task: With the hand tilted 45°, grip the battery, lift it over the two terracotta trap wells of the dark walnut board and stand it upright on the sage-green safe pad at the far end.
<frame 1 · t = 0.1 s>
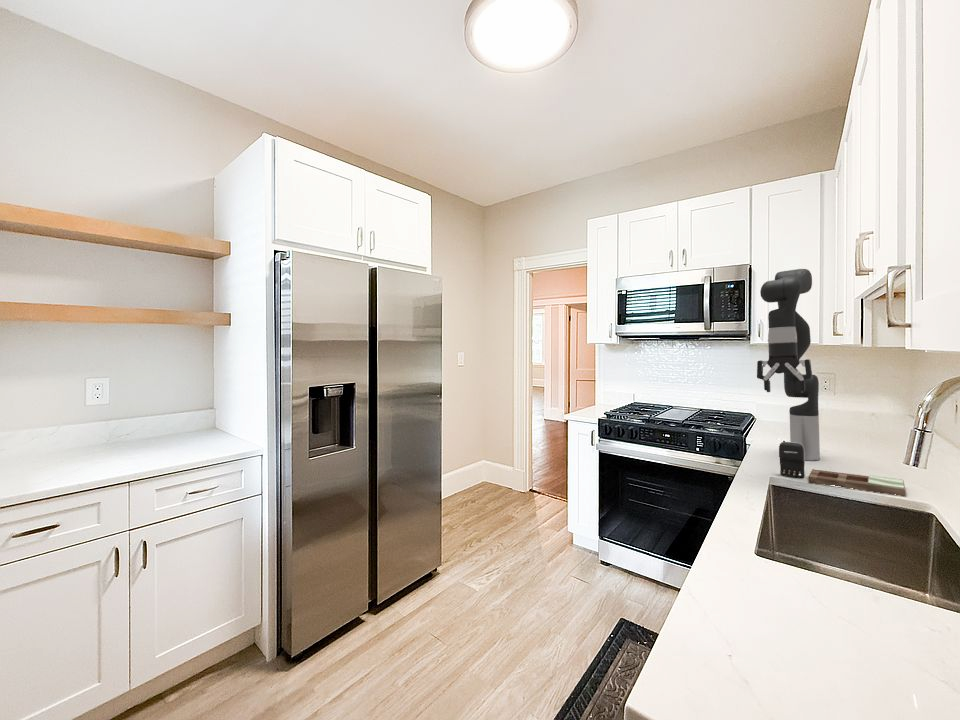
hand: (784, 392, 136), 29 cm above the countertop, tool pointing down, fingers open, 8 cm apart
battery: (792, 477, 144), on the countertop
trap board: (854, 484, 133), on the countertop
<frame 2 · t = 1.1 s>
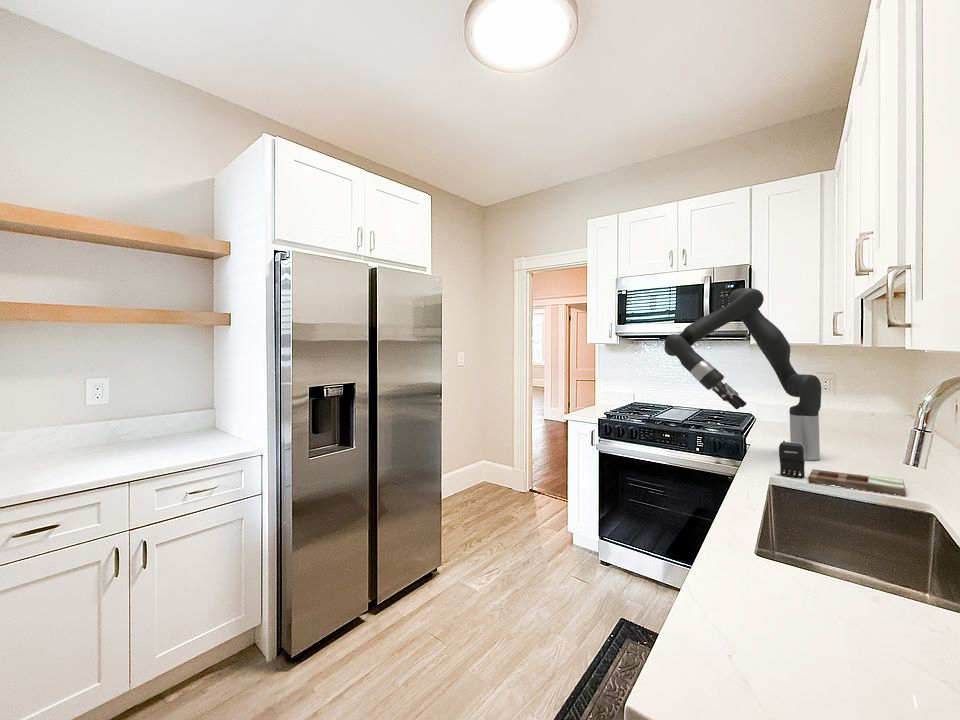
hand: (742, 406, 154), 23 cm above the countertop, tool tilted 45°, fingers open, 8 cm apart
nothing on the countertop moved.
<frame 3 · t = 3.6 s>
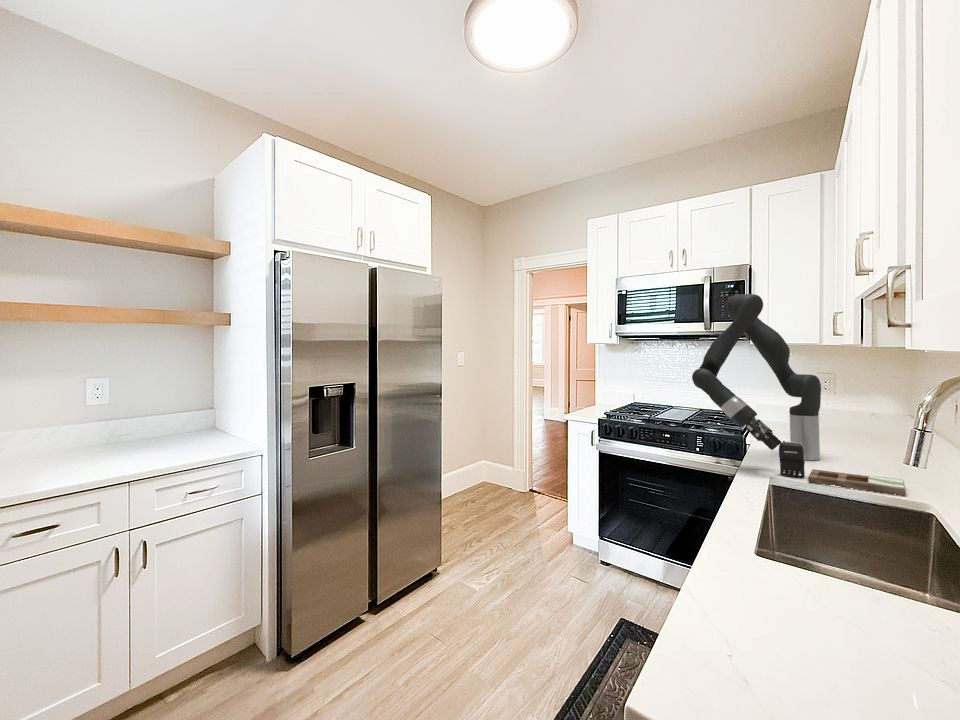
hand: (777, 446, 147), 10 cm above the countertop, tool tilted 45°, fingers open, 8 cm apart
nothing on the countertop moved.
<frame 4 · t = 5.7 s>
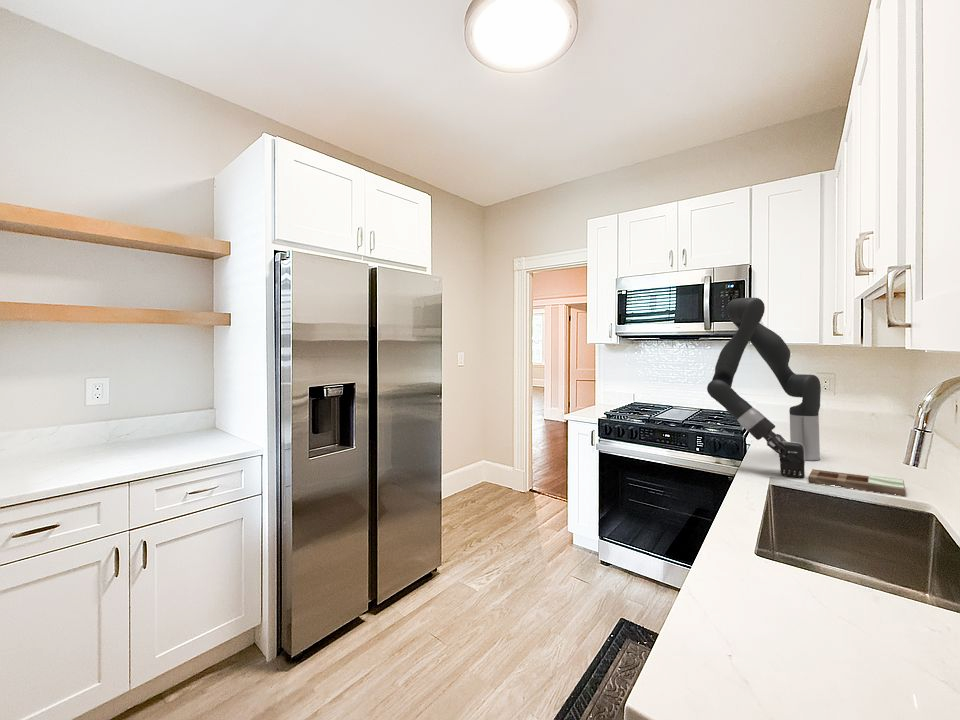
hand: (798, 462, 143), 5 cm above the countertop, tool tilted 45°, fingers closed on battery, 4 cm apart
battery: (792, 477, 144), on the countertop, touching gripper
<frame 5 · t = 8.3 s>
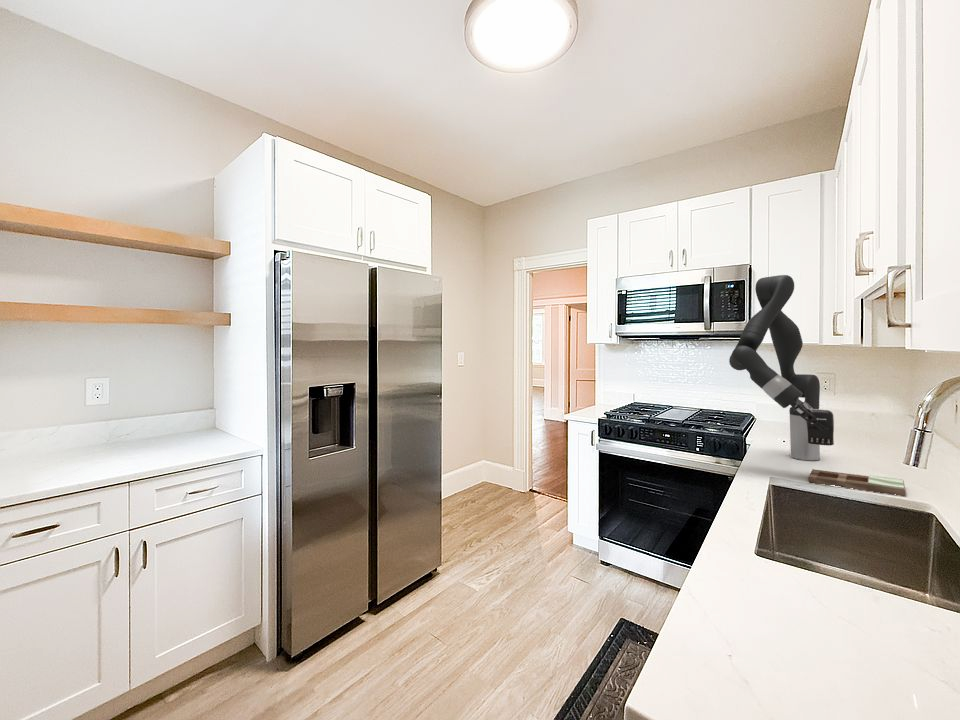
hand: (827, 429, 137), 17 cm above the countertop, tool tilted 45°, fingers closed on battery, 3 cm apart
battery: (820, 445, 139), point 11 cm above the countertop, touching gripper
when the fingers open (9 cm above the countertop, at t = 11.3 s): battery drops 1 cm, resting on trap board.
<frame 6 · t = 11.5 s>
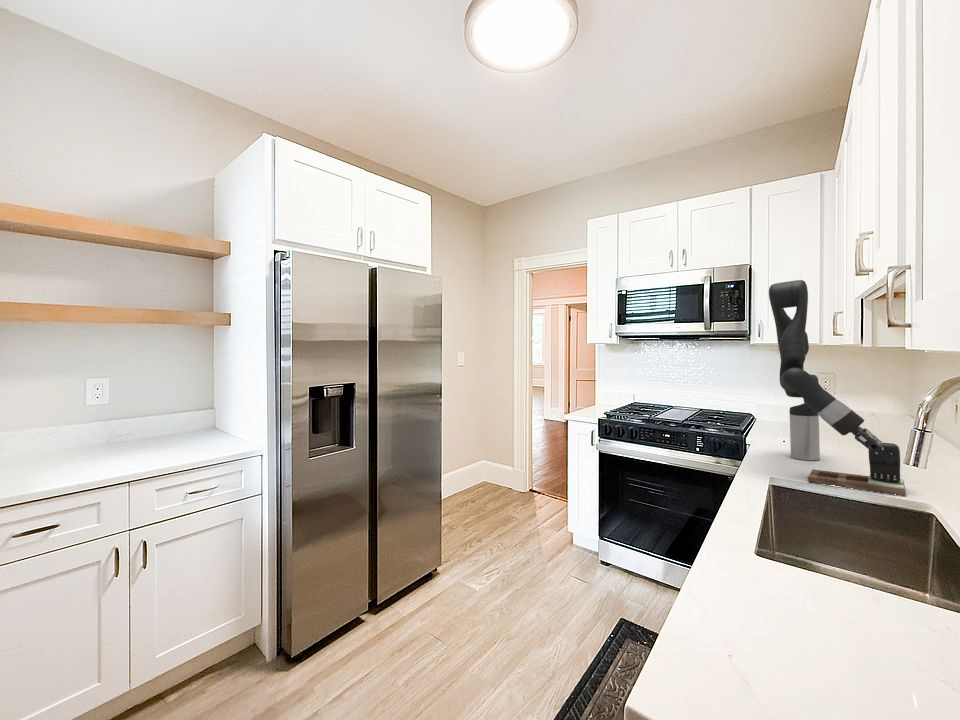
hand: (893, 459, 127), 9 cm above the countertop, tool tilted 45°, fingers open, 5 cm apart
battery: (885, 481, 128), point 2 cm above the countertop, touching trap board
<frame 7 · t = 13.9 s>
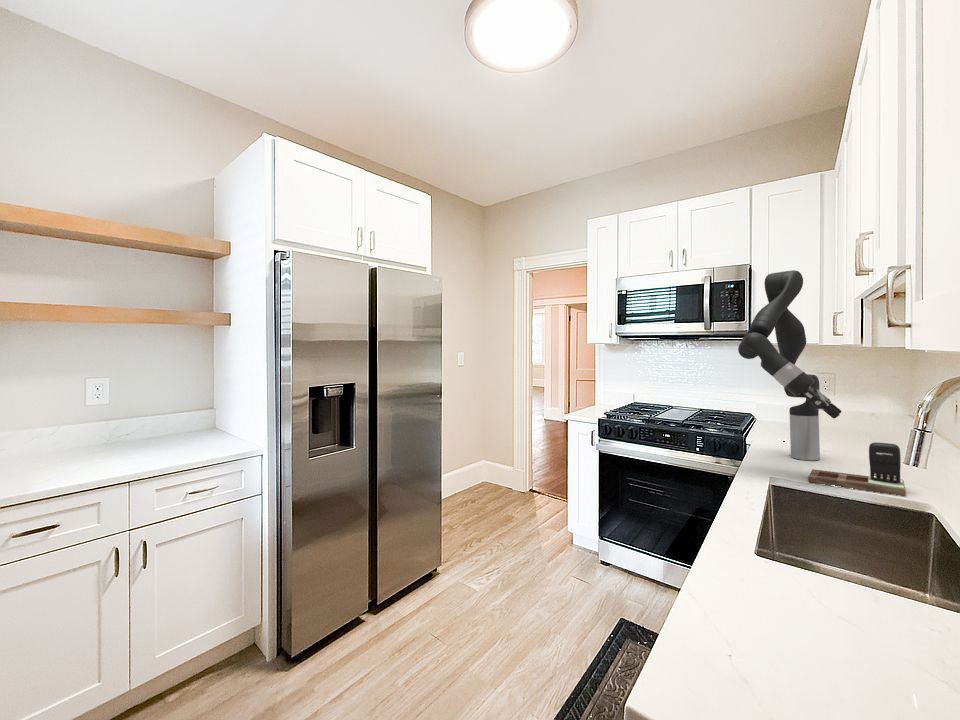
hand: (838, 415, 136), 22 cm above the countertop, tool tilted 45°, fingers open, 8 cm apart
nothing on the countertop moved.
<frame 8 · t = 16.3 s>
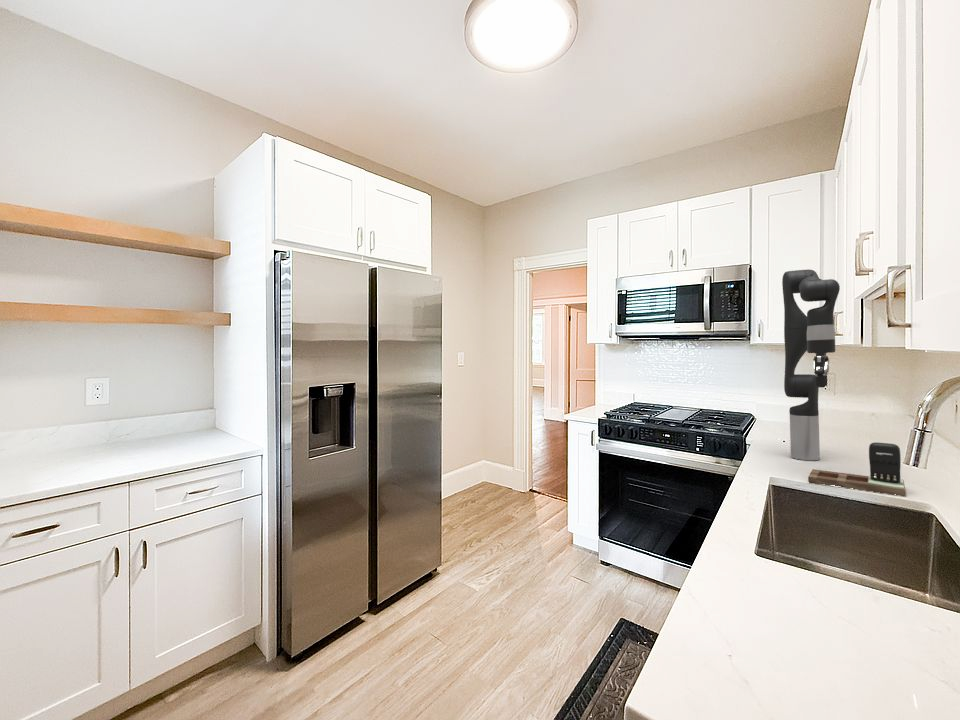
hand: (822, 386, 145), 30 cm above the countertop, tool pointing down, fingers open, 8 cm apart
nothing on the countertop moved.
at the end: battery inside the target area on the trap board (0.2 cm from its centre), point 2.2 cm above the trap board's base; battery tilted 0°; the gripper is holding nothing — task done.
